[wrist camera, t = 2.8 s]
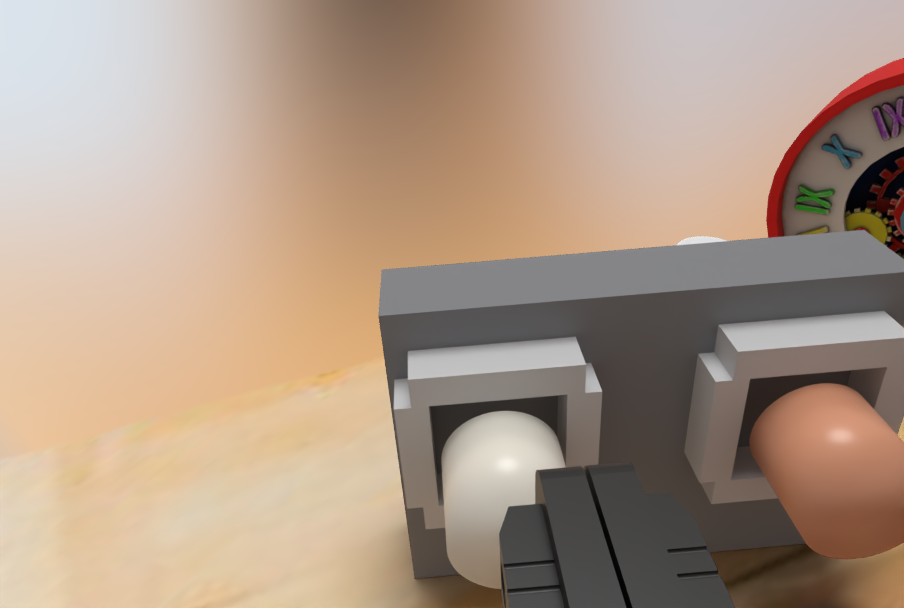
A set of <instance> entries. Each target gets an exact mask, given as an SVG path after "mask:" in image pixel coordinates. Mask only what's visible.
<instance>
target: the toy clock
mask: <svg viewBox="0 0 904 608" xmlns="http://www.w3.org/2000/svg"><path fill="white" fill-rule="evenodd" d="M767 228H768V238H772V237H784V236H796V235H808V234H820V233H833V232H845V231H857V230H865V231H866V232H868V233H869V234H870V235H872V236H873V237H874V238H876V239H877V240H878V241H880V242H881V243H882V244H884V245H885V246H887V247H888V248H889V249H891V250H892V251H893V252H895V253H896V254H897V255H899V256H900V257H901V258H903V259H904V58H902V59H899V60H896V61H893V62H891V63H889V64H887V65H885V66H882V67H880V68H878V69H876V70H874V71H872V72H870V73H868V74H866V75H864V76H863V77H862V78H860V79H859V80H857V81H856V82H854V83H853V84H852V85H850V86H849V87H847V88H846V89H844V90H843V91H841V92H840V93H839V94H838V95H837V96H836V97H835V98H834V99H833V100H832V101H831V102H830V103H829V104H828V105H827V106H826V107H825V108H824V109H823V110H822V111H821V112H820V113H819V114H818V115H817V116H816V117H815V118H814V119H813V120H812V121H811V122H810V123H809V124H808V125H807V127H805V129H804V130H803V131H802V132H801V133H800V134H799V136H798V137H797V138H796V140H795V141H794V142H793V144H792V145H791V147H790V148H789V149H788V151H787V152H786V153H785V155H784V157H783V159H782V161H781V163H780V165H779V167H778V169H777V171H776V173H775V176H774V179H773V183H772V186H771V190H770V193H769V197H768V208H767ZM902 327H903V328H904V322H903V325H902Z"/></svg>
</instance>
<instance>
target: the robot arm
mask: <svg viewBox="0 0 904 608" xmlns="http://www.w3.org/2000/svg"><path fill="white" fill-rule="evenodd" d="M499 544H500V569H501V594H502V603H503V608H735V606H734V604H733V602H732V600H731V598H730V595H729V593H728V591H727V589H726V587H725V584H724V582H723V580H722V578H721V577H719V575H718V569H717V567H716V565H715V563H714V561H713V558H712V556H711V554H710V552H708V551H707V545H706V543H705V541H704V539H703V537H702V534H701V532H700V530H699V528H698V526H697V524H696V521H695V519H694V517H693V516H692V515H691V514H690V513H689V512H688V511H687V510H686V509H685V508H684V507H683V506H682V505H681V504H680V503H679V502H678V501H677V500H676V499H675V498H674V497H673V496H672V495H671V494H670V493H669V492H667V493H655V494H645V493H644V490H643V488H642V485H641V483H640V480H639V478H638V475H637V473H636V470H635V468H634V466H633V464H632V463H631V462H621V463H609V464H598V465H586V466H584V468H582V467H581V466H577V467H565V468H554V469H542V470H536V474H535V504H531V505H519V506H509V507H508V509H507V512H506V515H505V518H504V521H503V524H502V527H501V530H500V533H499Z"/></svg>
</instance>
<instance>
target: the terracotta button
mask: <svg viewBox="0 0 904 608" xmlns="http://www.w3.org/2000/svg"><path fill="white" fill-rule="evenodd" d="M749 444H750V451H751V454H752V456H753V458H754V460H755V461H756V463H757V464H758V466H759V468H760V469H761V471H762V473H763V474H764V476H765V478H766V479H767V481H768V482H769V484H770V486H771V487H772V489H773V491H774V492H775V494H776V495H777V497H778V499H779V500H780V502H781V504H782V505H783V507H784V509H785V510H786V512H787V513H788V515H789V517H790V518H791V520H792V522H793V523H794V525H795V527H796V528H797V530H798V531H799V533H800V535H801V536H802V538H803V540H804V541H805V543H806V544H807V545H808V546H809V547H810V548H811V549H812V550H813V551H815V552H817V553H818V554H821V555H823V556H826V557H830V558H836V559H856V558H864V557H868V556H872V555H876V554H879V553H882V552H885V551H887V550H890V549H892V548H894V547H896V546H898V545H900V544H901V543H903V542H904V442H903V441H902V440H901V439H900V438H899V436H898V435H897V434H896V433H895V432H894V431H893V430H892V429H891V428H890V426H889V425H888V424H887V423H886V422H885V421H884V420H883V419H882V418H881V417H880V415H879V414H878V413H877V412H876V411H875V410H874V409H873V408H872V407H871V405H870V404H869V403H868V402H867V401H866V400H865V399H864V398H863V397H862V395H861V394H859V393H858V392H857V391H856V390H854V389H852V388H850V387H847V386H844V385H840V384H833V383H821V384H813V385H809V386H805V387H802V388H799V389H796V390H794V391H792V392H789V393H787V394H786V395H784V396H782V397H780V398H779V399H777V400H776V401H775V402H773V403H772V404H771V405H770V406H768V407H767V408H766V409H765V411H764V412H763V413H762V414H761V415H760V416H759V418H758V419H757V421H756V422H755V424H754V426H753V428H752V431H751V435H750V441H749Z"/></svg>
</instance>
